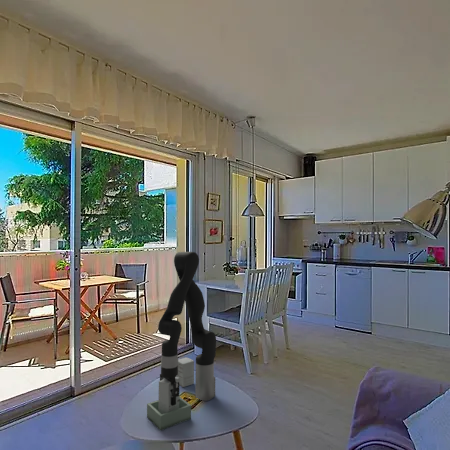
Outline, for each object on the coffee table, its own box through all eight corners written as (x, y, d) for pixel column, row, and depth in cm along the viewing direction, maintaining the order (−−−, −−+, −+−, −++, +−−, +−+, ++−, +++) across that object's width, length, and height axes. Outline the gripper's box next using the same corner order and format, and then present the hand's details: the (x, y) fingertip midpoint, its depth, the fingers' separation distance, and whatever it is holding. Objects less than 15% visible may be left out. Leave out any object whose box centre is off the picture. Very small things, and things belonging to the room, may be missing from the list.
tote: (176, 407, 164) (176, 394, 164) (190, 418, 153) (191, 405, 153) (146, 417, 154) (147, 403, 155) (160, 430, 144) (160, 416, 144)
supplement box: (186, 379, 194) (187, 356, 195) (194, 383, 189) (194, 360, 189) (175, 383, 190) (175, 359, 190) (182, 387, 184) (183, 363, 184)
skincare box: (168, 419, 149) (168, 384, 149) (157, 415, 152) (157, 381, 152) (180, 410, 156) (180, 377, 156) (169, 406, 159) (169, 374, 159)
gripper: (185, 367, 151) (184, 405, 151) (169, 357, 162) (168, 393, 162) (169, 371, 146) (169, 410, 146) (154, 361, 158) (154, 397, 157)
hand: (169, 401), depth 154 cm, fingers closed on skincare box, 7 cm apart
